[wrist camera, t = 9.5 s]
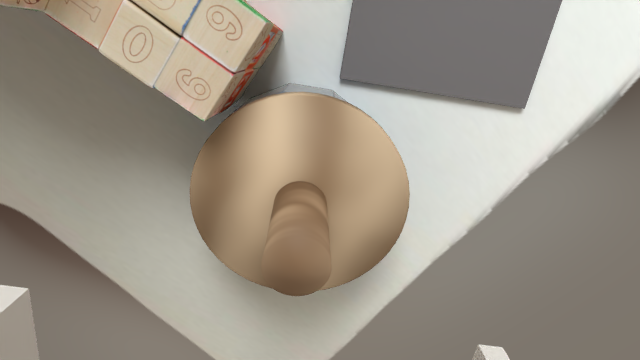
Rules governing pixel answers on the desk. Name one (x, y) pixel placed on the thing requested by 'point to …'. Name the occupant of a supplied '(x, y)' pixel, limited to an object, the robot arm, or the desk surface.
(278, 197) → the lid
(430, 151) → the desk surface
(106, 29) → the stack of blocks
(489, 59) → the mat
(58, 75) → the desk surface
